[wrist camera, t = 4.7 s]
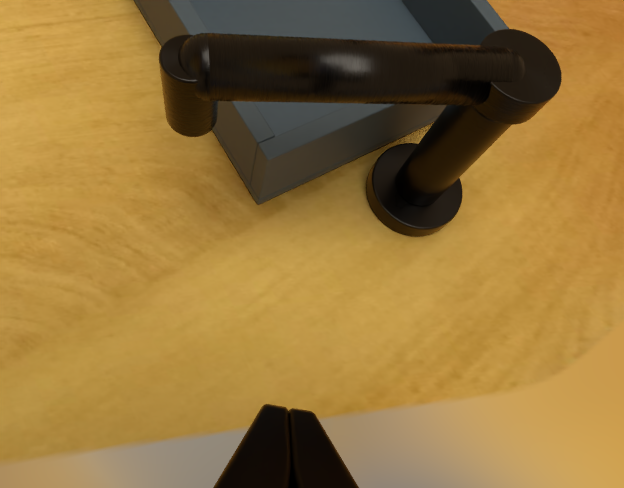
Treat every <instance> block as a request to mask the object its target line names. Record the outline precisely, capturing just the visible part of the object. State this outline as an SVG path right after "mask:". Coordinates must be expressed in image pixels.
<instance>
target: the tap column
mask: <svg viewBox="0 0 624 488" xmlns="http://www.w3.org/2000/svg"><path fill="white" fill-rule="evenodd" d="M511 125H512V124H511ZM511 125H510V124H502V123H498V122H495V121H493V120H490V119H489V118H487V117H485V116H484V115H482V114H481V113H480V112H478V111H477V110H476V109H475V108H474V107H473V106H472V105H447V106H446V107H445V109H444V110H443V111H442V113H441V114H440V115H439V117H438V118H437V119H436V121H435V122H434V123H433V125H432V126H431V128H430V129H429V130H428V132H427V133H426V134H425V136H424V137H423V138H422V140H421V141H420V142H419V144H414V143H405V144H400V145H396V146H394V147H391V148H389V149H388V150H386V151H385V152H384V153H383V154H381V156H380V157H379V158H378V159H377V161H376V163H375V164H374V166H373V167H372V169H371V171H370V173H369V175H368V179H367V185H366V189H367V197H368V200H369V203H370V206H371V208H372V210H373V211H374V213H375V214H376V216H377V217H378V218H379V219H380V220H381V221H382V222H383V223H384V224H385V225H386V226H388V227H389V228H391V229H392V230H394V231H396V232H398V233H401V234H404V235H409V236H426V235H430V234H432V233H435V232H437V231H439V230H440V229H441V228H443V227H444V226H445V225H446V224H447V223H448V222H450V221H451V220H452V219H453V218H454V216H455V215H456V214H457V212H458V210H459V208H460V205H461V201H462V185H461V181H460V178H459V177H460V176H461V175H462V174H463V173H464V172H465V171H466V170H467V169H468V168H469V167H470V166H471V165H472V164H473V163H474V162H475V161H476V160H477V159H478V158H479V157H480V156H481V155H482V154H483V153H484V152H485V151H486V150H487V149H488V148H489V147H490V146H491V145H492V144H493V143H494V142H495V141H496V140H497V139H498V138H499V137H500V136H501V135H502V134H503V133H504V132H505V131H506V130H507V129H508V128H509V127H510V126H511Z"/></svg>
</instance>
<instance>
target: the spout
mask: <svg viewBox="0 0 624 488" xmlns="http://www.w3.org/2000/svg"><path fill="white" fill-rule="evenodd" d="M159 63H160V71H161V79H162V87H163V95H164V104H165V112H166V118H167V121H168V124H169V125H170V126H171V128H172V129H173V130H175V131H176V132H177V133H179V134H181V135H184V136H188V137H198V136H202V135H205V134H206V133H208V132H209V131H211V130H212V129H213V127H214V126H215V124H216V122H217V113H218V101H244V102H301V103H358V104H415V105H472V106H473V107H474V108H475V109H476V110H477V111H478V112H480V113H481V114H482V115H484V116H485V117H487V118H489V119H490V120H493V121H495V122H498V123H502V124H510V125H511V124H520V123H523V122H526V121H527V120H529V119H531V118H532V117H533V116H534V115H535V114H536V113H537V112H538V111H539V110H540V109H541V108H542V107H543V106H544V105H545V104H546V103H547V102H548V101H550V100H551V99H552V98H553V97H554V96H555V94H556V93H557V92H558V90H559V87H560V85H561V70H560V66H559V64H558V61H557V59H556V57H555V56H554V54H553V53H552V52H551V50H550V49H549V48H548V47H547V46H546V45H545V44H544V43H543V42H541V41H540V40H539V39H537V38H536V37H534V36H532V35H530V34H528V33H526V32H523V31H519V30H514V29H502V30H497V31H495V32H492V33H491V34H489V35H488V36H486V37H485V38H484V40H483V41H482V42H481V44H480V45H461V44H439V43H418V42H396V41H374V40H353V39H331V38H309V37H288V36H266V35H244V34H223V33H199V34H196V35H179V36H175V37H173V38H171V39H169V40H168V41H167V42H166V43H165V44H164V45H163V46H162V48H161V50H160V53H159Z"/></svg>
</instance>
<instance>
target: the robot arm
mask: <svg viewBox="0 0 624 488" xmlns="http://www.w3.org/2000/svg"><path fill="white" fill-rule="evenodd" d="M214 488H359V487H358V486H357V484H356V482H355V481H354V479H353V477H352V476H351V474H350V472H349V471H348V469H347V467H346V465H345V464H344V462H343V461H342V459H341V457H340V455H339V454H338V452H337V450H336V449H335V447H334V445H333V444H332V442H331V440H330V439H329V437H328V435H327V434H326V432H325V430H324V429H323V427H322V425H321V424H320V422H319V420H318V419H317V417H316V415H315V414H314V413H313V412H311V411H306V410H300V409H294V408H292V409H290V410H289V411H288V409H287V408H286V407H282V406H276V405H270V404H265V405H264V406H262V408H261V410H260V411H259V413H258V414H257V416H256V418H255V419H254V421H253V423H252V424H251V426H250V428H249V429H248V431H247V433H246V434H245V436H244V438H243V439H242V441H241V443H240V444H239V446H238V448H237V449H236V451H235V453H234V454H233V456H232V458H231V459H230V461H229V463H228V465H227V466H226V468H225V469H224V471H223V473H222V474H221V476H220V478H219V479H218V481H217V483H216V484H215V486H214Z"/></svg>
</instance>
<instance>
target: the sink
mask: <svg viewBox="0 0 624 488" xmlns="http://www.w3.org/2000/svg"><path fill="white" fill-rule="evenodd" d="M134 1H135V3H136V4H137V6H138V8H139V9H140V11H141V13H142V14H143V16H144V18H145V19H146V21H147V23H148V24H149V26H150V28H151V29H152V31H153V33H154V34H155V36H156V38H157V39H158V41H159V43H160V44H161V46H163V45H164V44H165V43H166V42H167V41H168V40H169V39H171V38H173V37H175V36H179V35H196V34H199V33H223V34H244V35H266V36H288V37H309V38H331V39H353V40H374V41H396V42H418V43H439V44H461V45H480V44H481V42H482V41H483V40H484V38H485V37H486V36H488V35H489V34H491V33H492V32H495V31H497V30H502V29H509V28H508V27H507V25H506V24H505V23H504V22H503V20H502V19H501V18H500V17H499V15H498V14H497V13H496V12H495V10H494V9H493V8H492V7H491V5H490V4H489V3H488V1H487V0H134ZM446 106H447V105H415V104H358V103H301V102H244V101H218V113H217V122H216V124H215V126H214V127H213V129H212V130H213V132H214V133H215V135H216V137H217V138H218V140H219V142H220V143H221V145H222V147H223V148H224V150H225V152H226V153H227V155H228V157H229V158H230V160H231V162H232V163H233V165H234V167H235V168H236V170H237V171H238V173H239V175H240V176H241V178H242V180H243V181H244V183H245V185H246V186H247V188H248V190H249V191H250V193H251V195H252V196H253V198H254V200H255V201H256V203H257V204H258V205H259V204H261V203H263V202H265V201H268V200H270V199H272V198H274V197H276V196H278V195H280V194H282V193H285V192H287V191H289V190H291V189H293V188H295V187H297V186H299V185H301V184H304V183H306V182H308V181H310V180H312V179H314V178H316V177H318V176H321V175H323V174H325V173H327V172H329V171H331V170H333V169H335V168H338V167H340V166H342V165H344V164H346V163H348V162H350V161H352V160H354V159H357V158H359V157H361V156H363V155H365V154H367V153H369V152H371V151H374V150H376V149H378V148H380V147H382V146H384V145H386V144H388V143H390V142H393V141H395V140H397V139H399V138H401V137H403V136H405V135H407V134H410V133H412V132H414V131H416V130H418V129H420V128H422V127H424V126H426V125H429V124H431V123H433V122H435V121H436V119H437V118H438V117H439V115H440V114H441V113H442V111H443V110H444V109H445V107H446Z"/></svg>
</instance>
